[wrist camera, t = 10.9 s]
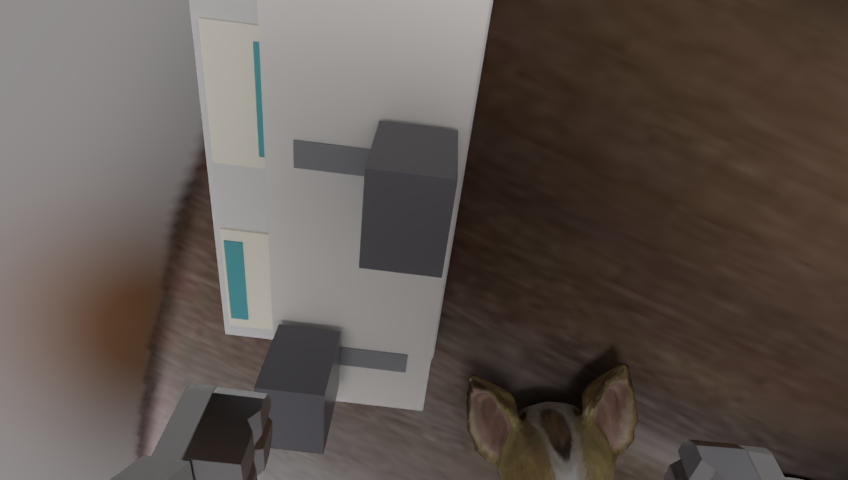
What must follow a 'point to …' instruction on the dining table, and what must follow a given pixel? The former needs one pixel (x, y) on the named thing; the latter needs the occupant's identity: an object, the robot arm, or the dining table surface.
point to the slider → (301, 386)
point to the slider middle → (408, 199)
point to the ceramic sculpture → (554, 430)
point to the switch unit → (328, 167)
